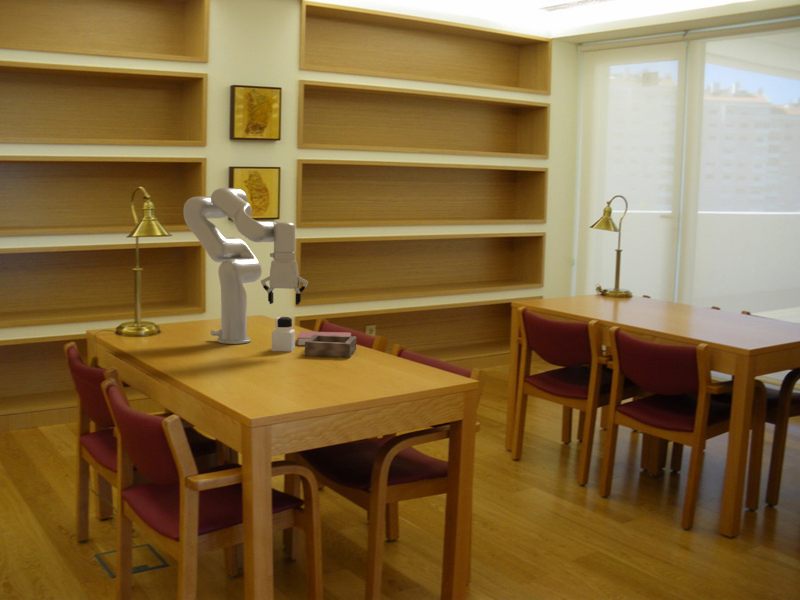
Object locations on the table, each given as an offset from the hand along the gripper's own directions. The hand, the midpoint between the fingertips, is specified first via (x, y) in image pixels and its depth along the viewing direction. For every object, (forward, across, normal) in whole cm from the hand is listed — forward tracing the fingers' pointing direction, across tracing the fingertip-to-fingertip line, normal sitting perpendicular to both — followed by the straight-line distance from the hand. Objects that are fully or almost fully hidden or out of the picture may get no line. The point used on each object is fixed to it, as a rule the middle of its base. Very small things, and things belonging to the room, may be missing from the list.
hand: (284, 303), depth 303 cm
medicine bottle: (+17, 0, 0) cm, 17 cm away
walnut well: (+17, +18, -2) cm, 25 cm away
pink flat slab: (+17, +12, +18) cm, 27 cm away
